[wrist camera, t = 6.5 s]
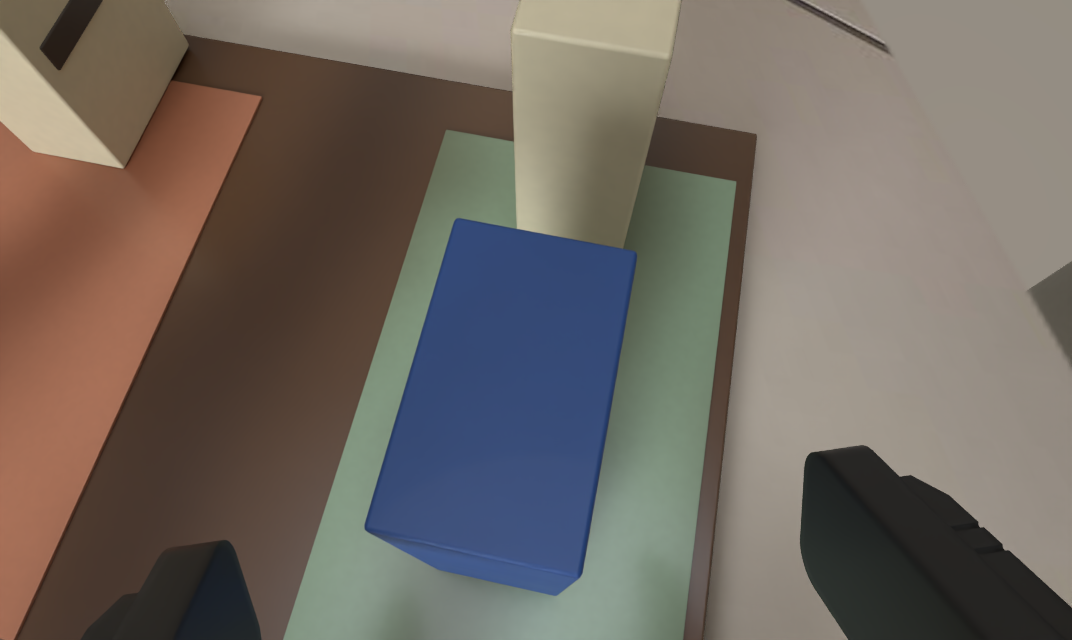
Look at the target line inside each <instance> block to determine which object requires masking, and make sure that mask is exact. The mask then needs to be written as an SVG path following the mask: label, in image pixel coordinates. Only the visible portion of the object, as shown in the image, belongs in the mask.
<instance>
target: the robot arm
mask: <svg viewBox="0 0 1072 640" xmlns="http://www.w3.org/2000/svg"><path fill="white" fill-rule="evenodd" d="M1002 545H1003V544H1002V543H1000V542H999V541H998V540H997V539H996V538H995V537H994V536H993V535H992V534H991V533H990V532H989V531H987V530H986V529H985V528H984V527H983V528H980V527H979V525H978V521H977V520H975V519H974V518H973V517H972V516H971V515H970V514H969V513H968V512H967V511H966V510H965V509H963V508H962V507H961V506H960V505H959V504H958V503H957V502H956V501H955V500H954V499H953V498H951V497H950V496H949V495H947V494H945V493H944V492H942V491H940V490H938V489H936V488H934V487H932V486H930V485H928V484H926V483H924V482H923V481H921V480H919V479H917V478H915V477H913V476H911V475H909V476H902V477H899V476H898V475H897V474H896V473H895V472H894V471H893V470H892V469H891V468H890V467H889V466H888V465H887V464H886V463H885V462H884V461H883V460H882V459H881V458H880V457H879V456H878V455H877V454H876V453H875V452H874V451H873V450H871V449H870V448H869V447H867V446H864V445H860V446H853V447H846V448H839V449H833V450H826V451H819V452H812V453H810V454H809V455H808V456H807V458H806V461H805V467H804V482H803V499H802V516H801V533H800V547H801V554H802V559H803V563H804V566H805V569H806V572H807V574H808V577H809V579H810V581H811V583H812V585H813V587H814V588H815V590H816V591H817V593H818V594H819V596H820V597H821V599H822V600H823V602H824V603H825V605H826V606H827V608H828V609H829V611H830V612H831V614H832V616H833V617H834V619H835V620H836V622H837V623H838V625H839V626H840V628H841V629H842V631H843V632H844V634H845V635H846V637H847V638H848V640H1072V608H1071V607H1070V606H1069V605H1068V604H1067V603H1066V602H1065V601H1064V600H1063V599H1061V598H1060V597H1059V596H1058V595H1057V594H1056V593H1055V592H1054V591H1053V590H1052V589H1051V588H1049V587H1048V586H1047V585H1046V584H1045V583H1044V582H1043V581H1042V580H1041V579H1040V578H1039V577H1038V576H1036V575H1035V574H1034V573H1033V572H1032V571H1031V570H1030V569H1029V568H1028V567H1027V566H1026V565H1024V564H1023V563H1022V562H1021V561H1020V560H1019V559H1018V558H1017V557H1016V556H1015V555H1014V554H1012V553H1011V552H1010V551H1009V550H1007V551H1005V550H1004V549H1003V546H1002ZM81 640H262V639H261V631H260V626H259V622H258V619H257V616H256V613H255V610H254V607H253V604H252V601H251V598H250V594H249V591H248V588H247V585H246V582H245V579H244V576H243V573H242V569H241V566H240V563H239V560H238V557H237V554H236V551H235V549H234V547H233V545H232V544H231V543H230V542H229V541H228V540H220V541H213V542H206V543H199V544H192V545H186V546H179V547H172V548H167V549H166V550H164V551H163V552H162V553H161V554H160V556H159V557H158V559H157V561H156V563H155V564H154V566H153V568H152V570H151V571H150V573H149V575H148V577H147V578H146V580H145V582H144V584H143V586H142V587H141V589H140V591H139V592H138V593H132V594H125V595H123V596H122V597H121V598H119V599H118V600H117V601H116V602H115V603H114V604H113V605H112V606H111V607H110V608H109V609H108V610H107V611H106V612H105V613H103V614H102V615H101V616H100V617H99V618H98V619H97V620H96V621H95V622H94V623H93V624H92V625H91V626H90V627H88V628H87V630H86V632H85V633H84V635H83V636H82V638H81Z"/></svg>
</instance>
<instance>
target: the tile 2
mask: <svg viewBox="0 0 1072 640" xmlns="http://www.w3.org/2000/svg"><path fill="white" fill-rule="evenodd" d="M681 3H682V0H519V4H518V7H517V10H516V14H515V17H514V21H513V24H512V27H511V60H512V93H513V126H514V159H515V191H516V224H517V229H521V230H526V231H531V232H537V233H542V234H547V235H553V236H558V237H563V238H569V239H574V240H579V241H584V242H590V243H595V244H600V245H606V246H611V247H616V248H622V249H623V247H624V243H625V239H626V235H627V231H628V227H629V223H630V220H631V216H632V212H633V208H634V204H635V200H636V196H637V192H638V188H639V184H640V180H641V177H642V173H643V169H644V165H645V161H646V157H647V153H648V149H649V145H650V141H651V137H652V134H653V130H654V126H655V122H656V118H657V114H658V110H659V106H660V102H661V98H662V95H663V91H664V87H665V83H666V79H667V75H668V71H669V67H670V63H671V59H672V54H673V49H674V43H675V37H676V31H677V26H678V20H679V14H680V8H681Z"/></svg>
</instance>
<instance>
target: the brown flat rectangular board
mask: <svg viewBox="0 0 1072 640" xmlns="http://www.w3.org/2000/svg"><path fill="white" fill-rule="evenodd" d="M183 35H184V34H183ZM184 37H185V38H186V40H187V42H188V44H189V46H188V48H187V50H186V52H185V54H184V56H183V58H182V60H181V62H180V64H179V65H178V67H177V69H176V71H175V73H174V75H173V77H172V79H171V81H170V83H169V84H168V86H167V88H166V90H165V92H164V94H163V96H162V98H161V100H160V102H159V104H158V105H157V107H156V109H155V111H154V113H153V115H152V117H151V119H150V121H149V123H148V124H147V126H146V128H145V130H144V132H143V134H142V136H141V138H140V140H139V142H138V143H137V145H136V147H135V149H134V151H133V153H132V155H131V157H130V159H129V161H128V162H127V164H126V166H125V168H117V167H112V166H106V165H101V164H96V163H91V162H85V161H80V160H75V159H69V158H64V157H59V156H54V155H48V154H43V153H38V152H33V151H32V150H31V149H30V148H28V147H27V146H26V145H25V144H24V143H23V142H22V141H21V140H20V139H19V138H18V137H17V136H16V135H15V134H14V133H13V132H11V131H10V130H9V129H8V128H7V127H6V126H5V125H4V124H3V123H2V122H1V121H0V640H81V638H82V636H83V635H84V633H85V632H86V630H87V628H88V627H90V626H91V625H92V624H93V623H94V622H95V621H96V620H97V619H98V618H99V617H100V616H101V615H102V614H103V613H105V612H106V611H107V610H108V609H109V608H110V607H111V606H112V605H113V604H114V603H115V602H116V601H117V600H118V599H119V598H121V597H122V596H123V595H125V594H132V593H138V592H139V591H140V589H141V587H142V586H143V584H144V582H145V580H146V578H147V577H148V575H149V573H150V571H151V570H152V568H153V566H154V564H155V563H156V561H157V559H158V557H159V556H160V554H161V553H162V552H163V551H164V550H166V549H167V548H172V547H179V546H186V545H192V544H199V543H206V542H213V541H220V540H228V541H229V542H230V543H231V544H232V545H233V547H234V549H235V551H236V554H237V557H238V560H239V563H240V566H241V569H242V573H243V576H244V579H245V582H246V585H247V588H248V591H249V594H250V598H251V601H252V604H253V607H254V610H255V613H256V616H257V619H258V622H259V626H260V631H261V639H262V640H704V630H705V621H706V612H707V602H708V593H709V583H710V574H711V564H712V555H713V546H714V536H715V527H716V517H717V508H718V499H719V489H720V480H721V470H722V461H723V451H724V442H725V433H726V423H727V414H728V404H729V395H730V386H731V376H732V367H733V357H734V348H735V338H736V329H737V320H738V310H739V301H740V291H741V282H742V272H743V263H744V254H745V244H746V235H747V225H748V216H749V207H750V197H751V188H752V178H753V169H754V159H755V150H756V141H757V135H756V134H753V133H747V132H742V131H736V130H730V129H724V128H719V127H713V126H707V125H701V124H696V123H690V122H684V121H678V120H673V119H667V118H661V117H657V118H656V122H655V126H654V130H653V134H652V137H651V141H650V145H649V149H648V153H647V157H646V161H645V165H644V169H643V173H642V177H641V180H640V184H639V188H638V192H637V196H636V200H635V204H634V208H633V212H632V216H631V220H630V223H629V227H628V231H627V235H626V239H625V243H624V247H623V249H627V250H632V251H635V252H636V253H637V262H636V268H635V274H634V280H633V285H632V291H631V297H630V303H629V308H628V314H627V320H626V326H625V332H624V337H623V343H622V349H621V355H620V360H619V366H618V372H617V378H616V383H615V389H614V395H613V401H612V407H611V412H610V418H609V424H608V430H607V435H606V441H605V447H604V453H603V458H602V464H601V470H600V476H599V481H598V487H597V493H596V499H595V505H594V510H593V516H592V522H591V528H590V533H589V539H588V545H587V551H586V556H585V562H584V568H583V574H582V575H581V577H580V578H579V579H578V580H576V581H575V582H574V583H573V584H571V585H570V586H569V587H567V588H566V589H565V590H564V591H562V592H561V593H560V594H559V595H557V596H553V595H548V594H544V593H539V592H535V591H531V590H526V589H522V588H517V587H513V586H508V585H504V584H499V583H495V582H491V581H486V580H482V579H477V578H473V577H468V576H464V575H460V574H455V573H451V572H446V571H442V570H437V569H436V568H434V567H432V566H430V565H428V564H426V563H424V562H422V561H421V560H419V559H417V558H415V557H413V556H411V555H409V554H408V553H406V552H404V551H402V550H400V549H398V548H396V547H394V546H393V545H391V544H389V543H387V542H385V541H383V540H381V539H379V538H378V537H376V536H374V535H372V534H370V533H368V532H367V531H366V530H365V528H364V524H365V521H366V517H367V514H368V510H369V507H370V504H371V500H372V497H373V493H374V490H375V487H376V483H377V480H378V477H379V473H380V470H381V466H382V463H383V460H384V456H385V453H386V449H387V446H388V443H389V439H390V436H391V433H392V429H393V426H394V422H395V419H396V416H397V412H398V409H399V406H400V402H401V399H402V395H403V392H404V389H405V385H406V382H407V378H408V375H409V372H410V368H411V365H412V362H413V358H414V355H415V351H416V348H417V345H418V341H419V338H420V334H421V331H422V328H423V324H424V321H425V318H426V314H427V311H428V307H429V304H430V301H431V297H432V294H433V291H434V287H435V284H436V280H437V277H438V274H439V270H440V267H441V263H442V260H443V257H444V253H445V250H446V247H447V243H448V240H449V236H450V233H451V230H452V226H453V223H454V221H455V220H456V218H462V219H468V220H473V221H478V222H483V223H489V224H494V225H499V226H505V227H510V228H515V229H517V224H516V191H515V159H514V126H513V93H512V91H506V90H500V89H494V88H489V87H483V86H477V85H471V84H466V83H460V82H454V81H448V80H443V79H437V78H431V77H425V76H420V75H414V74H408V73H402V72H397V71H391V70H385V69H379V68H374V67H368V66H362V65H357V64H351V63H345V62H339V61H334V60H328V59H322V58H316V57H311V56H305V55H299V54H293V53H288V52H282V51H276V50H270V49H265V48H259V47H253V46H247V45H242V44H236V43H230V42H224V41H219V40H213V39H207V38H201V37H196V36H190V35H184Z"/></svg>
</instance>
